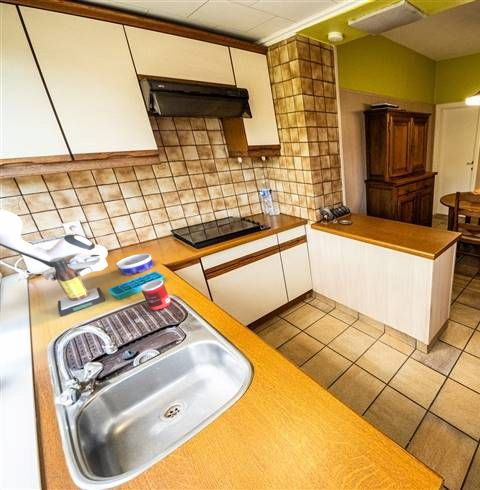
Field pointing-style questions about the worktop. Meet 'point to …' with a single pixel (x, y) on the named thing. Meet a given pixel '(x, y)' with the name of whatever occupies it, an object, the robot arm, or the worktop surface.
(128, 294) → the ice cube tray
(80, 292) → the sauce bottle
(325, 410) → the worktop surface
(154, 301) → the canned food
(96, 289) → the scale
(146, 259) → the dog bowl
